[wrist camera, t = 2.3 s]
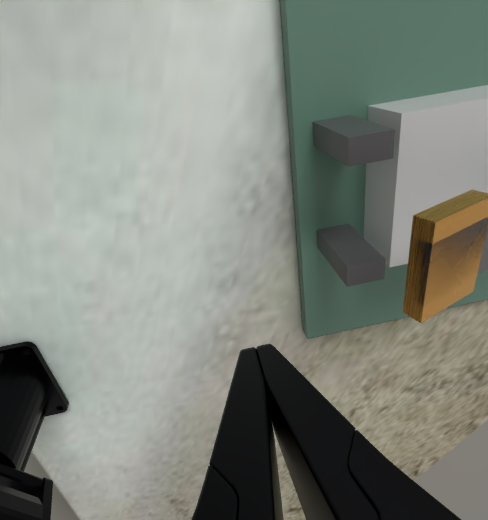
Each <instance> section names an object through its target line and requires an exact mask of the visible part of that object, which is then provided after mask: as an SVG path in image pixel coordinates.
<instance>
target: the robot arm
mask: <svg viewBox="0 0 488 520" xmlns="http://www.w3.org/2000/svg"><path fill="white" fill-rule="evenodd" d="M25 349H28V350H30V351H27V350H25ZM68 405H69V403H68V401H67V399H66V397H65V395H64V394H63V392H62V390H61V388H60V387H59V385H58V383H57V381H56V380H55V378H54V376H53V374H52V373H51V371H50V369H49V368H48V366H47V364H46V362H45V361H44V359H43V357H42V355H41V354H40V352H39V350H38V348H37V347H36V345H35V344H33V343H32V342H22V343H17V344H12V345H7V346H3V347H0V520H50V516H51V502H52V488H53V481H52V480H49V479H47V478H43V479H42V478H39V477H36V476H34V475H31V474H28V473H26V472H24V470H25V467H26V464H27V462H28V459H29V456H30V454H31V451H32V448H33V446H34V443H35V440H36V438H37V435H38V432H39V429H40V427H41V424H42V421H43V419H44V417H45V416H49V415H54V414H58V413H63V412H65V411H66V410H67V408H68ZM272 424H273V426H272ZM273 428H274V431H275V434H276V437H277V440H278V443H279V446H280V448H281V451H282V454H283V457H284V459H285V462H286V465H287V468H288V470H289V473H290V476H291V479H292V481H293V484H294V487H295V490H296V492H297V495H298V498H299V501H300V503H301V506H302V509H303V512H304V514H305V517H306V520H461V519H460V518H458V517H457V516H456V515H455V514H454V513H452V512H451V511H450V510H449V509H447V508H446V507H445V506H444V505H442V504H441V503H440V502H439V501H437V500H436V499H435V498H434V497H433V496H431V495H430V494H429V493H428V492H426V491H425V490H424V489H423V488H422V487H420V486H419V485H418V484H417V483H415V482H414V481H413V480H412V479H410V478H409V477H408V476H407V475H406V474H404V473H403V472H402V471H401V470H400V469H399V468H397V467H396V466H395V465H394V464H393V463H391V462H390V461H389V460H388V459H387V458H386V457H385V456H384V455H383V454H382V453H380V452H379V451H378V450H377V449H376V448H375V447H374V446H373V445H372V444H371V443H370V442H369V441H368V440H367V439H366V438H365V437H364V436H363V435H362V434H361V433H360V432H359V431H358V430H356V431H355V427H354V426H353V425H352V424H351V423H350V422H349V421H348V420H347V419H346V418H345V417H344V416H343V415H342V414H341V413H340V412H339V411H338V410H337V409H336V408H335V407H334V406H333V405H332V404H331V403H330V402H329V401H328V400H327V399H326V398H325V397H324V396H323V395H322V394H321V393H320V392H319V391H318V390H317V389H316V388H315V387H314V386H313V385H312V384H311V383H310V382H309V381H308V380H307V379H306V378H305V377H304V376H303V375H302V374H301V373H300V372H299V371H298V370H297V369H296V368H295V367H294V366H293V365H292V364H291V363H290V362H289V361H288V360H287V359H286V358H285V357H284V356H283V355H282V354H281V353H280V352H279V351H278V350H277V349H276V348H275V347H274V346H273V345H271V344H265V345H261V346H257V348H254V347H252V348H247V349H243V350H241V351H240V354H239V357H238V361H237V364H236V368H235V372H234V375H233V379H232V383H231V386H230V390H229V394H228V397H227V401H226V404H225V408H224V412H223V415H222V419H221V423H220V426H219V430H218V434H217V437H216V441H215V445H214V448H213V452H212V455H211V459H210V466H208V469H207V473H206V477H205V480H204V484H203V487H202V490H201V493H200V497H199V500H198V503H197V506H196V509H195V512H194V514H193V517H192V520H283V511H282V502H281V493H280V484H279V475H278V466H277V457H276V448H275V439H274V432H273Z"/></svg>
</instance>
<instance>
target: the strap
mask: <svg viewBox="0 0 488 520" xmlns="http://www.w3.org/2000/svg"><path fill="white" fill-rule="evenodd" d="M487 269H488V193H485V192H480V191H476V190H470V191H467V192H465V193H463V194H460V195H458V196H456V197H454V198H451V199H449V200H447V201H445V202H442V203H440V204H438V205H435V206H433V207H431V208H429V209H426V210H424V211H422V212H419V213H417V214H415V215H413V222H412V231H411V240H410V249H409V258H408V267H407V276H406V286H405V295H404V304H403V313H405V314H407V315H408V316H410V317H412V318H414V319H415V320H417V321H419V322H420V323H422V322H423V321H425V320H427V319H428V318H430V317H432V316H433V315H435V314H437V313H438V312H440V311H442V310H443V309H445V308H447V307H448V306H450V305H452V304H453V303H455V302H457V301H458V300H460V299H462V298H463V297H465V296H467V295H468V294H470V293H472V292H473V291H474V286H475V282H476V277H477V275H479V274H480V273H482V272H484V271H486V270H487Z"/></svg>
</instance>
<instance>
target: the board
mask: <svg viewBox="0 0 488 520" xmlns="http://www.w3.org/2000/svg"><path fill="white" fill-rule="evenodd" d="M280 9H281V23H282V37H283V52H284V66H285V80H286V94H287V109H288V123H289V137H290V152H291V166H292V180H293V195H294V209H295V223H296V238H297V252H298V266H299V281H300V295H301V309H302V323H303V331H304V333H305V335H306V338H307V339H309V338H314V337H319V336H323V335H328V334H332V333H337V332H341V331H346V330H350V329H355V328H359V327H364V326H368V325H373V324H377V323H382V322H386V321H391V320H396V319H400V318H405V317H409V316H408V315H407V314H405V313H403V304H404V295H405V286H406V276H407V267H408V258H409V249H410V240H411V231H412V222H413V215H415V214H417V213H419V212H422V211H424V210H426V209H429V208H431V207H433V206H435V205H438V204H440V203H442V202H445V201H447V200H449V199H451V198H454V197H456V196H458V195H460V194H463V193H465V192H467V191H470V190H476V191H480V192H485V193H488V0H280ZM486 299H488V269H487V270H486V271H484V272H482V273H480V274H479V275H477V277H476V282H475V286H474V291H473V292H472V293H470V294H468V295H467V296H465V297H463V298H462V299H460V300H458V301H457V302H455V303H453V304H452V305H450V306H448V307H447V308H450V307H454V306H459V305H463V304H468V303H472V302H477V301H482V300H486Z"/></svg>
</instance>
